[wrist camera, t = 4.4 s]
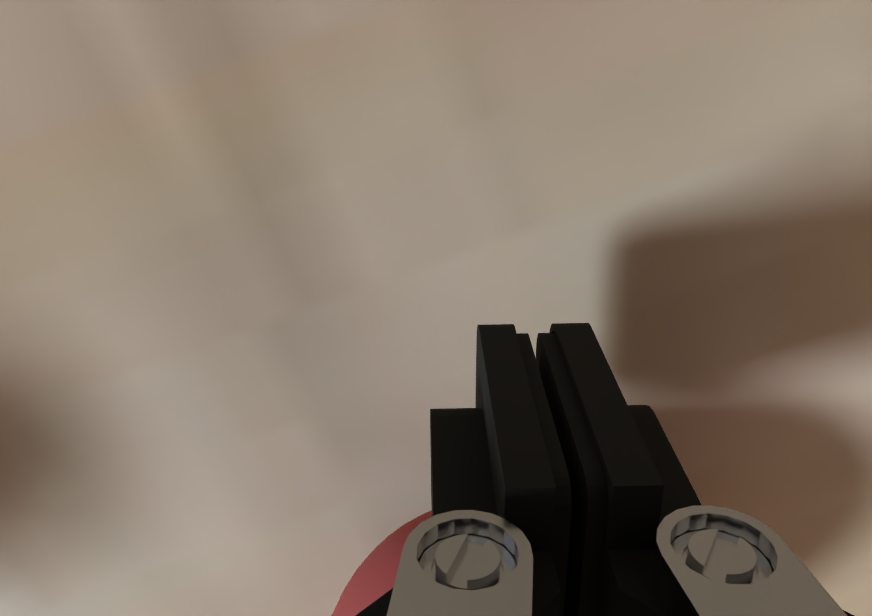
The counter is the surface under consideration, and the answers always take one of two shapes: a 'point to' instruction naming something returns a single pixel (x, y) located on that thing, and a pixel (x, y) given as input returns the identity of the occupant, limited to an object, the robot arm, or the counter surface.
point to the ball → (376, 572)
